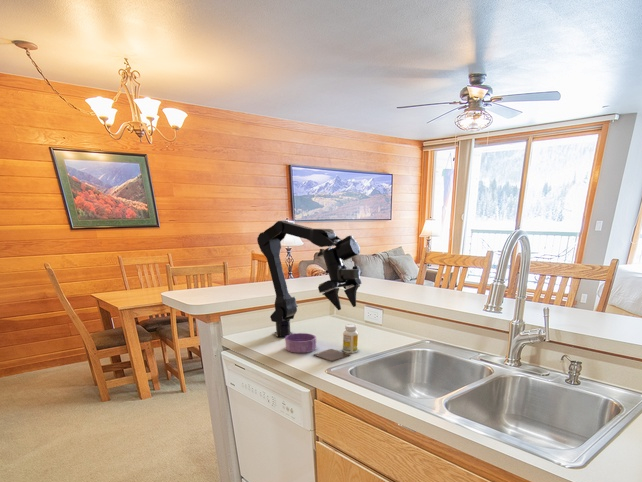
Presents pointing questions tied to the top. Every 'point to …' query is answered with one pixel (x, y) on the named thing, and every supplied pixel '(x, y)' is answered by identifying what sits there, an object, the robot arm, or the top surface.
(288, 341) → the dish
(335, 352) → the coaster
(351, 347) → the supplement bottle
